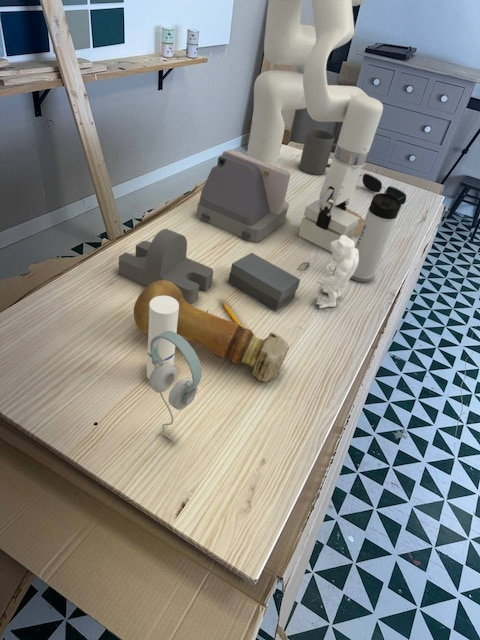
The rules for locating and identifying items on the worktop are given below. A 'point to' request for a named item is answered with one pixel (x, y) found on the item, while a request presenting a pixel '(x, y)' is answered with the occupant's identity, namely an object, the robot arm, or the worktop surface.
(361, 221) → the clay tablet
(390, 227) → the travel mug
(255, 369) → the stamp
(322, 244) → the off-white rectangular block
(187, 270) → the bracket
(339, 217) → the white box
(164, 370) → the headphones
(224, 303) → the pencil
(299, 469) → the worktop surface
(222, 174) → the instant camera
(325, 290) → the figurine
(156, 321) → the tube
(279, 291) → the grey stack
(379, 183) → the sunglasses
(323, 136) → the mug
